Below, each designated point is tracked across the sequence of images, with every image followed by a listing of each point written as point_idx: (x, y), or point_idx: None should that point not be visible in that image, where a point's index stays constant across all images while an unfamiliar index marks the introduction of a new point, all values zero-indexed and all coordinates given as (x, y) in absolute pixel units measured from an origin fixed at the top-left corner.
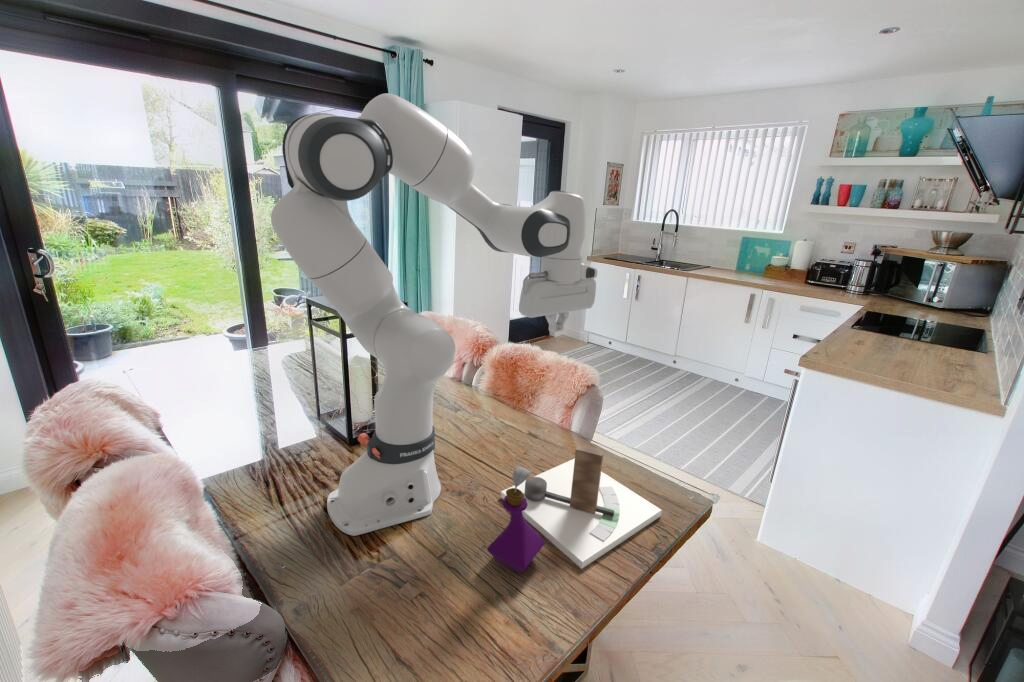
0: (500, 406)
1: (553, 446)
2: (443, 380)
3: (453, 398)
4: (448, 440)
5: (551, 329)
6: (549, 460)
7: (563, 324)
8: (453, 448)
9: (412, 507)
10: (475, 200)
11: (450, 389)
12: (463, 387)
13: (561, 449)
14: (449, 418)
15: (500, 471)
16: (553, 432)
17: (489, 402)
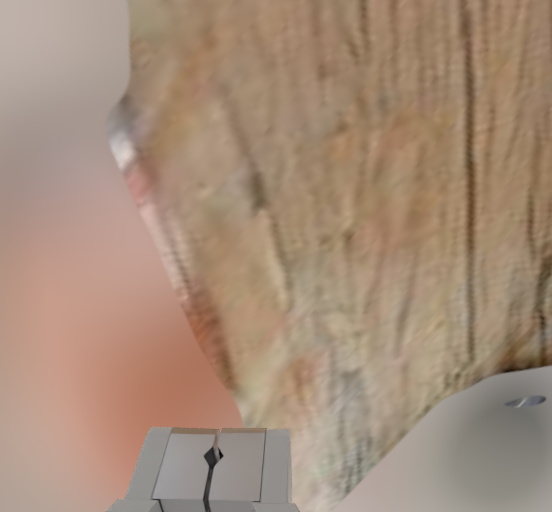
0: (242, 343)
1: (242, 111)
2: None
3: (322, 417)
4: (464, 281)
5: (290, 470)
6: (305, 54)
7: (134, 490)
8: (481, 247)
9: None
10: None
11: (301, 448)
12: None
13: (231, 84)
14: (391, 355)
15: (466, 90)
16: (192, 173)
17: (255, 369)
